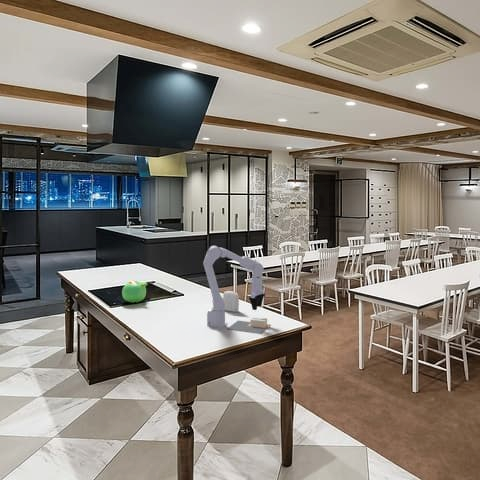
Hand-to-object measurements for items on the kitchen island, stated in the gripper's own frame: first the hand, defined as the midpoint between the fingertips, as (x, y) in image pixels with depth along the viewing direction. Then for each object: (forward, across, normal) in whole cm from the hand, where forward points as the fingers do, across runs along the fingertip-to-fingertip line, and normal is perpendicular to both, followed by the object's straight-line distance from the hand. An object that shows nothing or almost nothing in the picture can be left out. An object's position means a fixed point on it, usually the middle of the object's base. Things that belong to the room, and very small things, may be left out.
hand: (256, 308), depth 223 cm
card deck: (+9, -2, -2) cm, 9 cm away
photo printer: (+10, +20, +24) cm, 33 cm away
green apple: (+10, +14, +92) cm, 94 cm away
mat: (+9, -7, +2) cm, 12 cm away
